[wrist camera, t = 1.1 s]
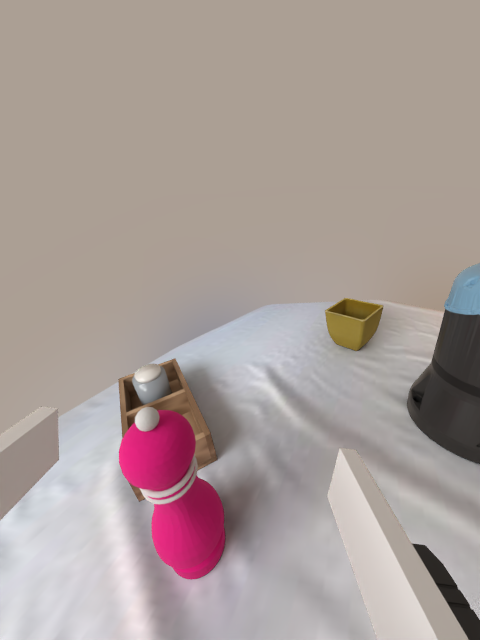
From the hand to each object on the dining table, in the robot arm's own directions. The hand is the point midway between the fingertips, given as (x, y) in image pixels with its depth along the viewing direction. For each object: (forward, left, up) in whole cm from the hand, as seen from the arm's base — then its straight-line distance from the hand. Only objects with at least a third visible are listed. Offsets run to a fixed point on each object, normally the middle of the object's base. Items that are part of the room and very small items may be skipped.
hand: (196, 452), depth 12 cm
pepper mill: (+2, -8, -23) cm, 25 cm away
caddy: (+2, -26, -23) cm, 35 cm away
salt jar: (+2, -32, -22) cm, 39 cm away
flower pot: (-41, -26, -23) cm, 54 cm away
